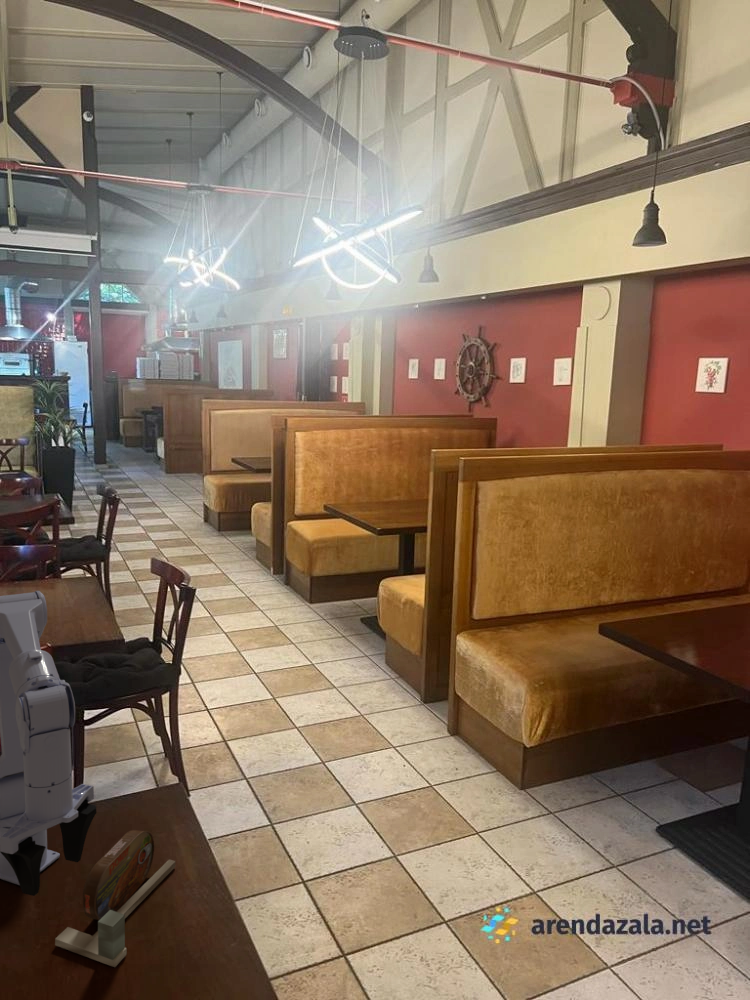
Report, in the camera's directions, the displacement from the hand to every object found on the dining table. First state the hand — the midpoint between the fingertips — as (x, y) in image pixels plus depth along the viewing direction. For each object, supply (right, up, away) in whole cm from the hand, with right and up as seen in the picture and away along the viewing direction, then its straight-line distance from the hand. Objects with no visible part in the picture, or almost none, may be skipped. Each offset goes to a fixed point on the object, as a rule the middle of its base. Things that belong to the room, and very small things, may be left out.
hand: (52, 875), depth 96 cm
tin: (+4, -11, +14) cm, 18 cm away
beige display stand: (+7, -11, +11) cm, 17 cm away
